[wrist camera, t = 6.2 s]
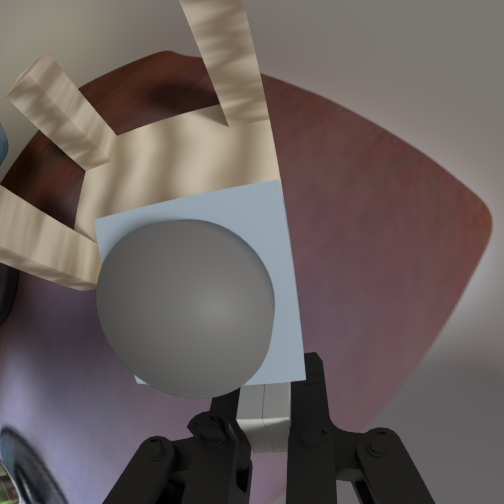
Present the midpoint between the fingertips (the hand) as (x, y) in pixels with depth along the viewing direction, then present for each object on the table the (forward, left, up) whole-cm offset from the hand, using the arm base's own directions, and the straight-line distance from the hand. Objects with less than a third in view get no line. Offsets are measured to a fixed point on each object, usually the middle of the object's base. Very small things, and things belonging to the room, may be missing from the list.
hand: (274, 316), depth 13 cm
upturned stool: (-10, +14, -8) cm, 19 cm away
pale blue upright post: (-1, +6, -5) cm, 8 cm away
